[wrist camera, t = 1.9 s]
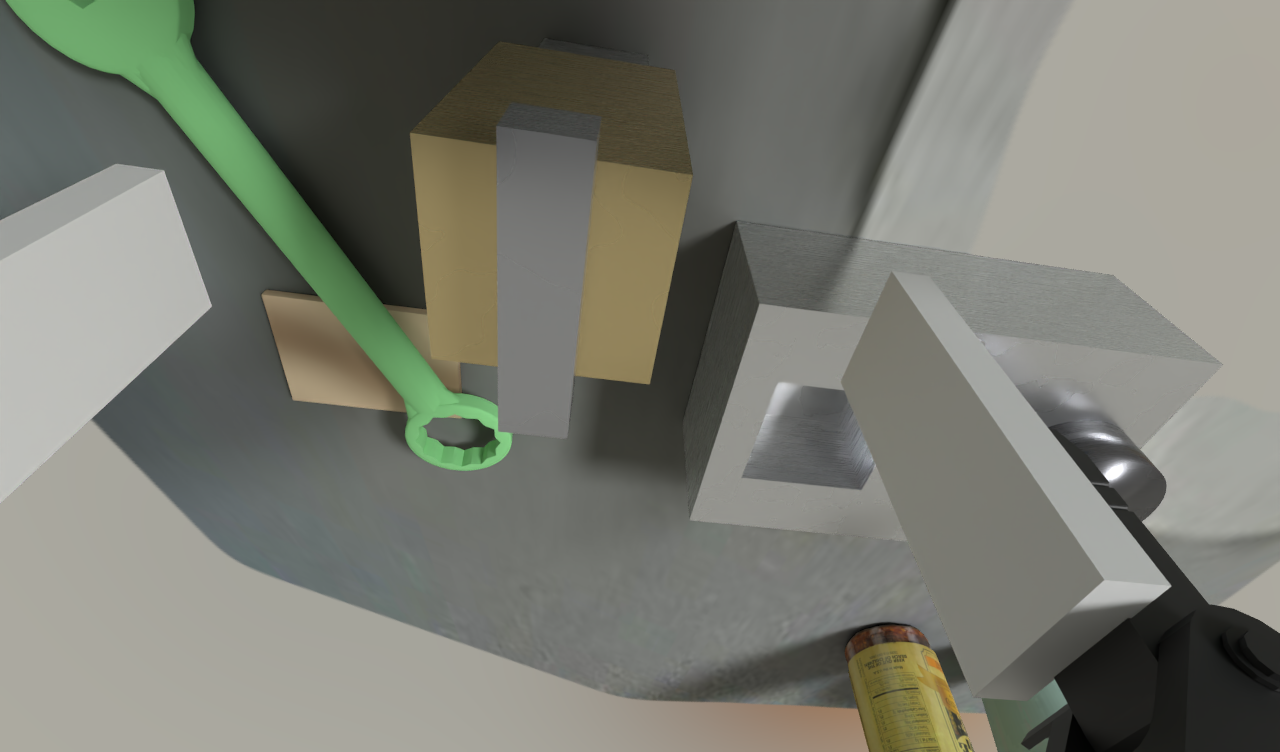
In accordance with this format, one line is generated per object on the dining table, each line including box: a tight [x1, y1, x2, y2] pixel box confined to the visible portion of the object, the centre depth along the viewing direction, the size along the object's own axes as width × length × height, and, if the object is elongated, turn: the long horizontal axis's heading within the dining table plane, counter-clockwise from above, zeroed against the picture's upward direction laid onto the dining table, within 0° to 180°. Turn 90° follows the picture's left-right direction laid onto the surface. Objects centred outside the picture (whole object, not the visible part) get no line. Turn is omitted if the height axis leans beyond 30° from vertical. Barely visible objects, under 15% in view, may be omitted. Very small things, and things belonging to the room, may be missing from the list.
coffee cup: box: [982, 679, 1067, 752], centre depth 40 cm, size 8×8×12 cm
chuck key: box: [410, 38, 693, 439], centre depth 15 cm, size 6×5×13 cm
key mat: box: [261, 290, 462, 418], centre depth 27 cm, size 6×8×1 cm
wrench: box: [5, 0, 513, 471], centre depth 23 cm, size 25×2×5 cm
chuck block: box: [683, 221, 1223, 541], centre depth 20 cm, size 11×16×18 cm
